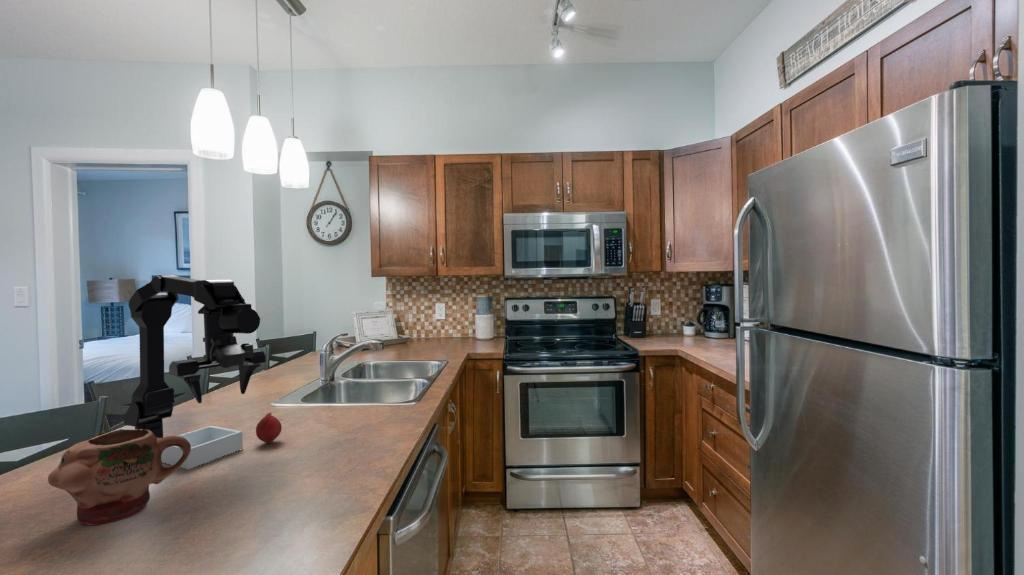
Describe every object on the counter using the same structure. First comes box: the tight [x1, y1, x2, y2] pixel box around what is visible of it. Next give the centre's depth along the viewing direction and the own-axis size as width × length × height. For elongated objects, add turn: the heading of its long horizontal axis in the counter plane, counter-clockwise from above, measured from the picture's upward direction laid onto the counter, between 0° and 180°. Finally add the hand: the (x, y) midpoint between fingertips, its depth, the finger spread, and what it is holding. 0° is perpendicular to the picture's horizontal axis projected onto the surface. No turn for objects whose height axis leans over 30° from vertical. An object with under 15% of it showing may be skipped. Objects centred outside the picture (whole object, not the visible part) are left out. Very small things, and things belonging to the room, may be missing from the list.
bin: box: [161, 425, 244, 470], centre depth 108 cm, size 13×13×4 cm
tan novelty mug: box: [47, 428, 191, 526], centre depth 83 cm, size 20×12×14 cm, turn 133°
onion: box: [255, 411, 282, 445], centre depth 115 cm, size 6×6×8 cm
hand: (222, 398), depth 106 cm, fingers open, 9 cm apart
